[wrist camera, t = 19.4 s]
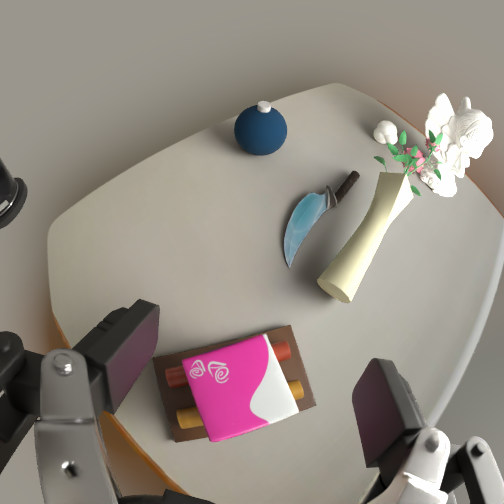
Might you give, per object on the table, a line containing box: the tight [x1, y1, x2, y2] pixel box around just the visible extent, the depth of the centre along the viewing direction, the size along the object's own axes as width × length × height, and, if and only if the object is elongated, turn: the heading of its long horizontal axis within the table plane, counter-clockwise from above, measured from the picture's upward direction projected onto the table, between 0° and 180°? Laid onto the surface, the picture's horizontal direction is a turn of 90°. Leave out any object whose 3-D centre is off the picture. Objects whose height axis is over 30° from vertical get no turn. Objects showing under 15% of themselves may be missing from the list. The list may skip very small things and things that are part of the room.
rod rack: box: [152, 325, 316, 442], centre depth 26 cm, size 16×10×3 cm, turn 106°
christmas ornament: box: [234, 101, 287, 155], centre depth 40 cm, size 8×8×10 cm
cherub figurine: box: [420, 93, 493, 197], centre depth 39 cm, size 13×12×20 cm
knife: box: [284, 171, 360, 268], centre depth 39 cm, size 22×2×5 cm
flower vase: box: [317, 129, 443, 303], centre depth 37 cm, size 12×12×35 cm
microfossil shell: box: [374, 120, 397, 144], centre depth 48 cm, size 4×5×6 cm
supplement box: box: [182, 334, 299, 442], centre depth 20 cm, size 6×6×12 cm
